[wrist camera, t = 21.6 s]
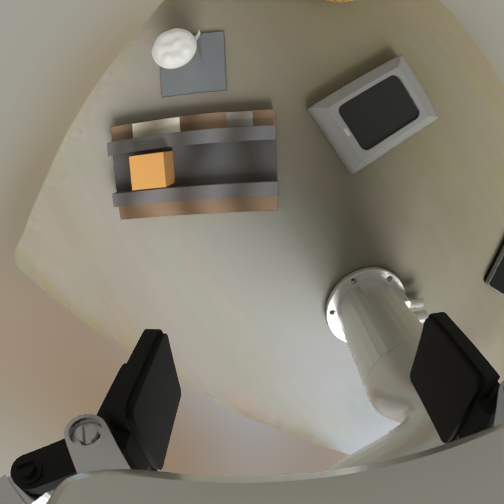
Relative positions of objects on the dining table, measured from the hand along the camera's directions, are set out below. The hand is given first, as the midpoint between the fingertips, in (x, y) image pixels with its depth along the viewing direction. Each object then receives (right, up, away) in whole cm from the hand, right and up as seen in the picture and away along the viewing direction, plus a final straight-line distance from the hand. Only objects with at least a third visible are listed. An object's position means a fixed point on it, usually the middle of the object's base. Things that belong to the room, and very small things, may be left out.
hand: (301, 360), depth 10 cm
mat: (-9, +27, +23) cm, 36 cm away
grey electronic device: (+14, +22, +25) cm, 36 cm away
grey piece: (-9, +15, +27) cm, 32 cm away
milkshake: (-9, +27, +22) cm, 36 cm away
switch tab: (-13, +14, +25) cm, 32 cm away
